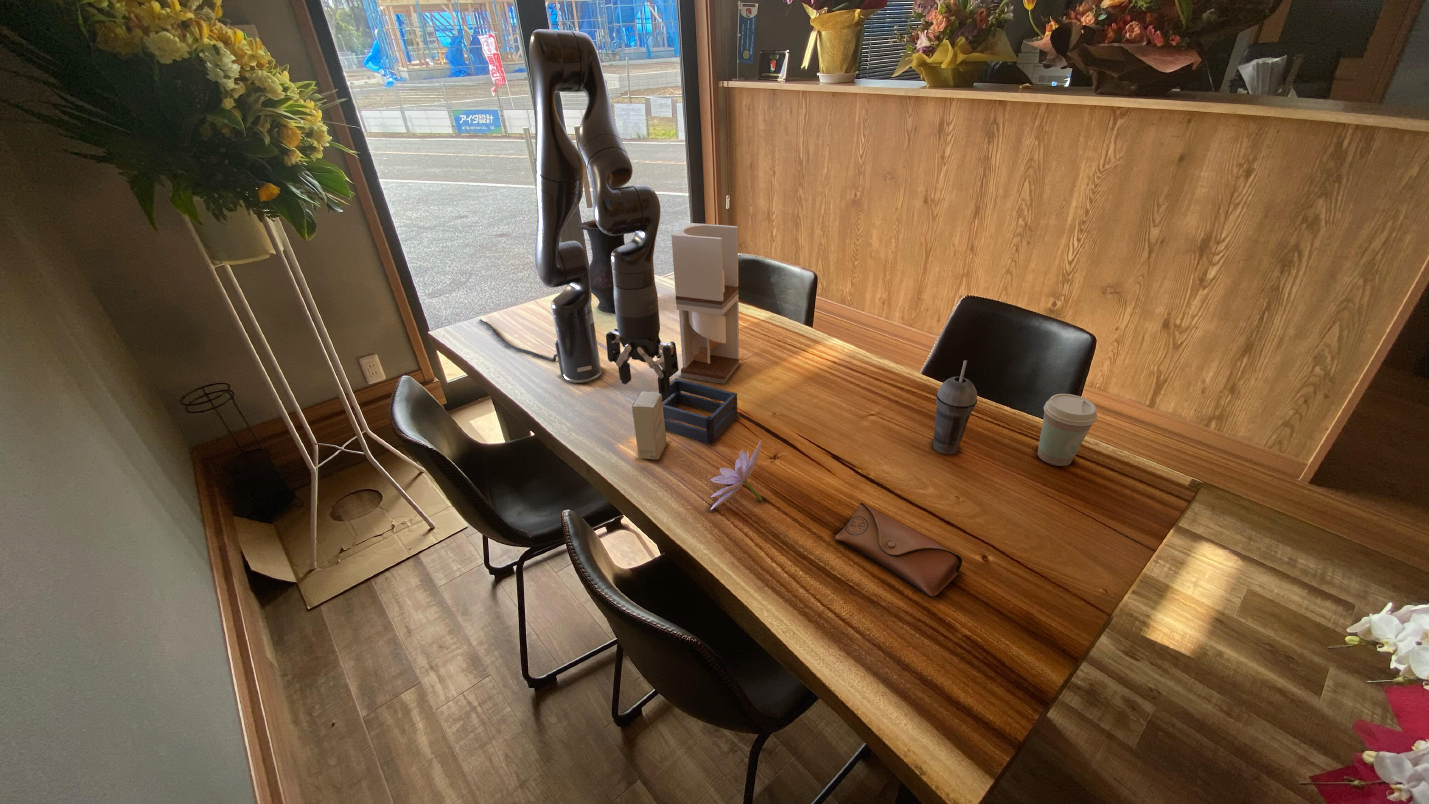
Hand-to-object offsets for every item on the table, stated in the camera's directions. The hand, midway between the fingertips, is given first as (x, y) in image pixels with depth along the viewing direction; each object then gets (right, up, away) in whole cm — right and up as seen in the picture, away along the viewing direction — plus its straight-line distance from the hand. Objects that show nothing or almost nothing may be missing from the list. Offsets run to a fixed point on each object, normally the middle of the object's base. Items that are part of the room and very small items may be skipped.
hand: (644, 387), depth 108 cm
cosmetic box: (+1, -13, +8) cm, 15 cm away
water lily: (+17, -19, -4) cm, 26 cm away
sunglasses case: (+42, -27, -18) cm, 53 cm away
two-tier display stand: (+12, +5, +36) cm, 39 cm away
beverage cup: (+59, -12, +6) cm, 61 cm away
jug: (-17, +27, +74) cm, 81 cm away
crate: (+9, -7, +16) cm, 20 cm away
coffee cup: (+79, -14, +2) cm, 80 cm away
